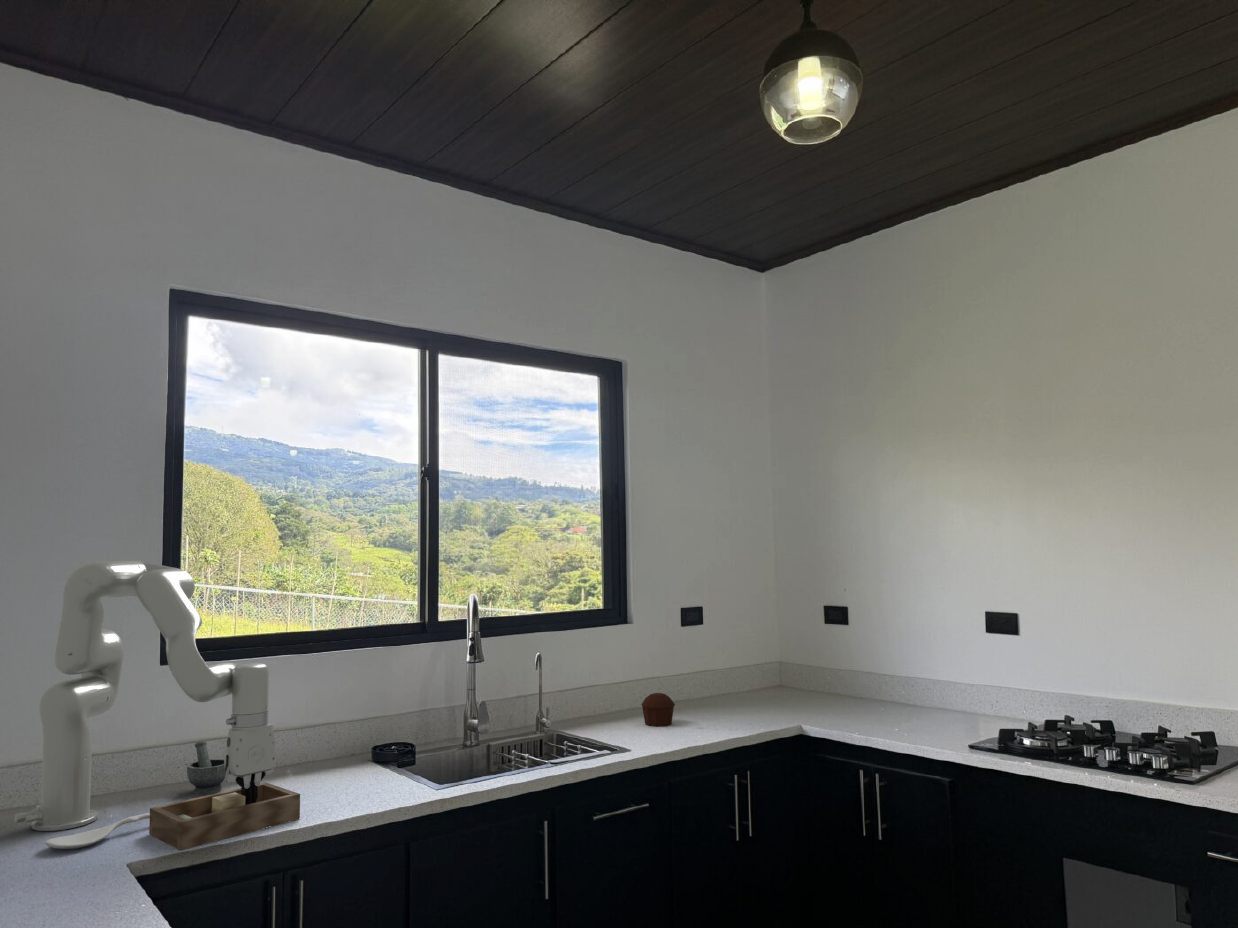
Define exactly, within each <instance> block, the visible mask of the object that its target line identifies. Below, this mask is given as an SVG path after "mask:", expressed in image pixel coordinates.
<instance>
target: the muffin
mask: <svg viewBox="0 0 1238 928" xmlns="http://www.w3.org/2000/svg"><path fill="white" fill-rule="evenodd" d="M640 705H641V707H642V709H641V710H642V714H643V719H644V724H645V726H647V727H652V728H653V727H654V728H660V727H661V728H662V727H670V726H671V725H672V724H673V718H674V717H673V716H674V707H675V705H676V704H675V703H674V701H673V700H672V698H671V697H670V696H669V695H668V694H666V693H662V692H654V693H651V694H649V695H647V696H646V697H645V698H644V700H643V701H642V703H641V704H640Z"/></svg>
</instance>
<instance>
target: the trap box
mask: <svg viewBox="0 0 1238 928" xmlns="http://www.w3.org/2000/svg"><path fill="white" fill-rule="evenodd" d="M234 792H236V793H238V794H241V787H239V788H235V789H230V790H229V789H228V790H225V791H222V792H221V791H220V792H217V793H214V794H208V795H201V796H199V797H194V798H189V799H184V800H180V801H176V802H171V803H167V804H162V805H159V806H153V807H150V808H149V813H150V818H149V826H148V827H149V831H148V834H150V836H151V835H152V836H151V837H153V836H154V837H153V838H155V839H157V840H159V841H160V842H163V843H164V844H166V845H169V846H171V847H172V848H173V849H174V848H175V849H176V850H178V851H183V850H188V849H191V848H195V847H199V846H203V845H206V844H210V843H213V842H217V841H221V840H225V839H229V838H233V837H236V836H242V835H245V834H248V833H252V832H256V831H260V830H264V829H267V828H266V827H268V828H270V827H269V826H272V827H275V825H276V826H278V825H283V824H286V823H285V822H287V823H290V822H289V821H291V822H294V821H293V820H295V821H297V820H296V819H299V818H300V819H301V793H298V792H295V791H294V790H293V791H292V790H289V789H286V788H284V787H280V786H278V785H275V784H272V783H269V782H260V785H259V786H258V798H257V800H256V803H252V804H248V805H244V806H239V807H235V808H231V809H227V810H223V811H218V812H214V813H212V797H216V796H221V795H225V794H230V793H234ZM300 819H299V820H300ZM263 828H264V829H263Z"/></svg>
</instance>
